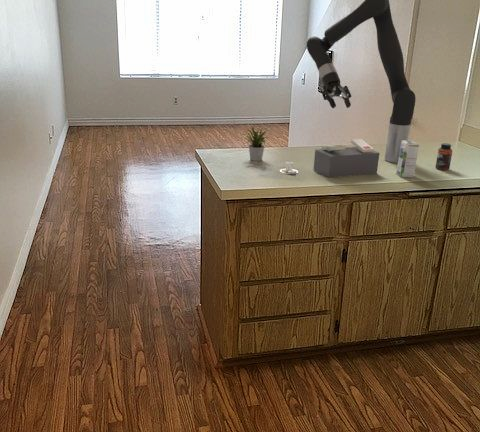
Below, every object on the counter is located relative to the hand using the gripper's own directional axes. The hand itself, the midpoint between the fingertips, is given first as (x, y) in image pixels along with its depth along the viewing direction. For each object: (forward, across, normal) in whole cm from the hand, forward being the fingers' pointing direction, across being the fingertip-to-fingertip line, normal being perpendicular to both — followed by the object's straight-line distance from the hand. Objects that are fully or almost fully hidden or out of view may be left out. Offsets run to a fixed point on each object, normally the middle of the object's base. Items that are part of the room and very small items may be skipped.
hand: (341, 107), depth 232 cm
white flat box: (+22, -1, -3) cm, 22 cm away
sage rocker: (+21, -15, -2) cm, 26 cm away
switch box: (+29, -8, +4) cm, 30 cm away
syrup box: (+39, +12, -7) cm, 41 cm away
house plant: (+8, -34, +30) cm, 46 cm away
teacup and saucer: (+24, -33, +12) cm, 43 cm away
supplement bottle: (+38, +36, -7) cm, 53 cm away
